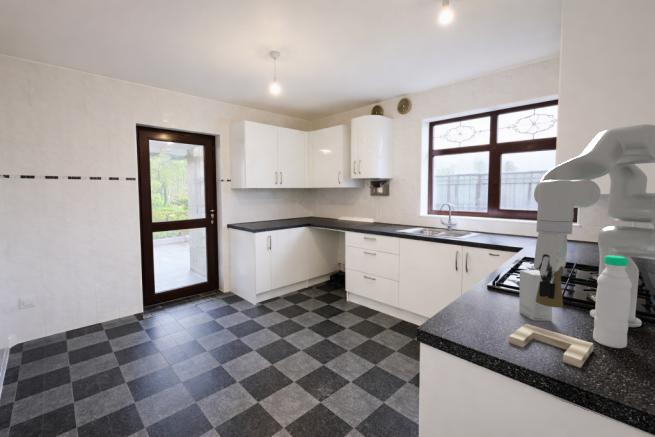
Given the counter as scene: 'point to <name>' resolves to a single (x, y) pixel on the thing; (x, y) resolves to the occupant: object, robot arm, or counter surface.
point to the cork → (557, 299)
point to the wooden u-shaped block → (554, 343)
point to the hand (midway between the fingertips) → (549, 294)
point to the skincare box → (532, 297)
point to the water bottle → (612, 303)
